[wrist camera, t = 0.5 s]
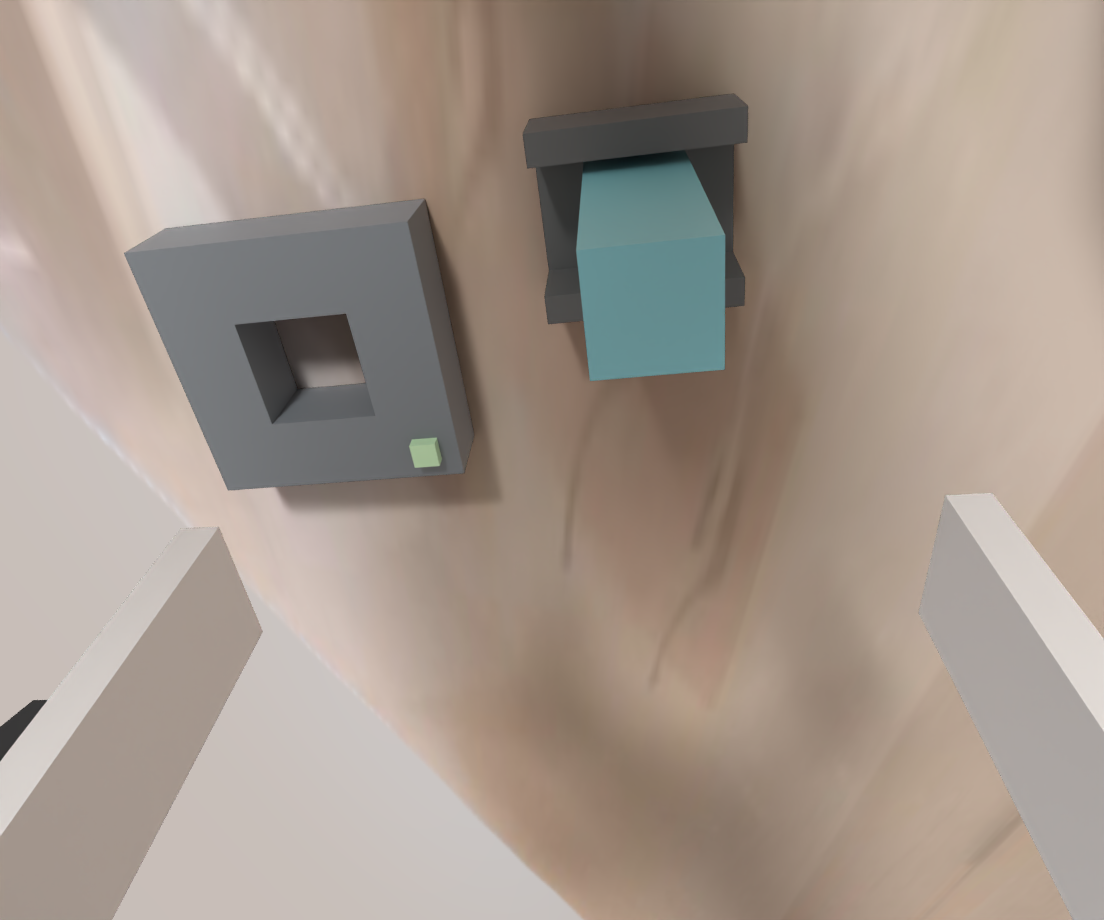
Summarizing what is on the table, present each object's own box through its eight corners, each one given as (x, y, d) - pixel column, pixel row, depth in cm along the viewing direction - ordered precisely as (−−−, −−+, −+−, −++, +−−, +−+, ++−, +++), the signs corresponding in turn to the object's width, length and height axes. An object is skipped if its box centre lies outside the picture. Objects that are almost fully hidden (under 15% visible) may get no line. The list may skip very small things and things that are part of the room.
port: (165, 228, 33) (116, 257, 30) (424, 198, 32) (404, 225, 29) (255, 452, 40) (223, 497, 37) (474, 435, 39) (462, 480, 35)
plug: (583, 157, 30) (576, 250, 20) (683, 146, 30) (725, 235, 20) (592, 254, 32) (590, 381, 22) (685, 244, 32) (724, 369, 22)
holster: (530, 116, 30) (522, 133, 27) (732, 91, 29) (747, 106, 26) (553, 291, 34) (548, 324, 31) (730, 273, 33) (744, 305, 30)
